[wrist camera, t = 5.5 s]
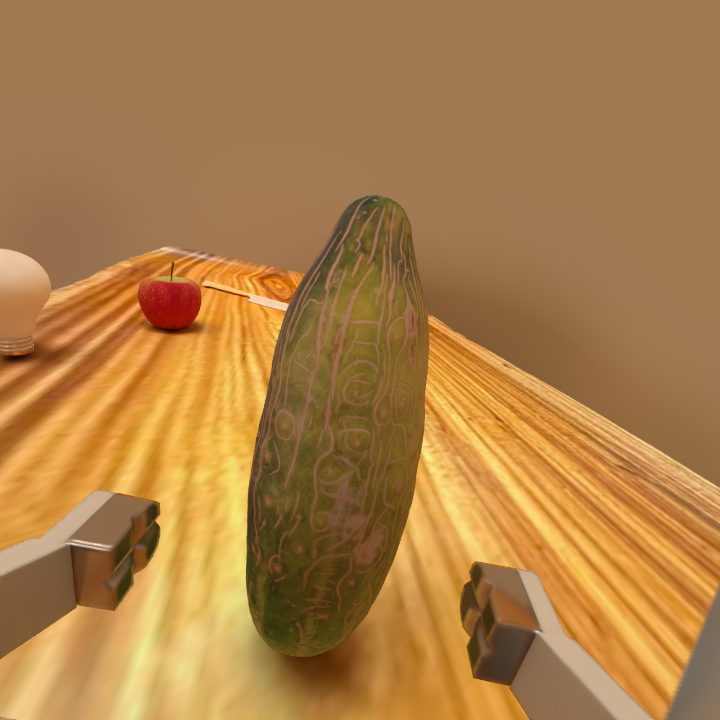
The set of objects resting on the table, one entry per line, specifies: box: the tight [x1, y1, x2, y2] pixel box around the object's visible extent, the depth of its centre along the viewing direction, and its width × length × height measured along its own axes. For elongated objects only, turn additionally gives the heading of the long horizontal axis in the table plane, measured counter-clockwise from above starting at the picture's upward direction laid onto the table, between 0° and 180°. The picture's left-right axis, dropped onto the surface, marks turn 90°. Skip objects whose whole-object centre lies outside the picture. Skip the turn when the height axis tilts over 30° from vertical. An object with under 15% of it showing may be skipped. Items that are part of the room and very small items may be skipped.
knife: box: [202, 281, 289, 311], centre depth 82 cm, size 1×34×5 cm
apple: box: [138, 262, 201, 329], centre depth 54 cm, size 8×8×10 cm
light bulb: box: [0, 249, 51, 357], centre depth 37 cm, size 7×7×11 cm
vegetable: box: [246, 195, 429, 657], centre depth 14 cm, size 6×6×20 cm
